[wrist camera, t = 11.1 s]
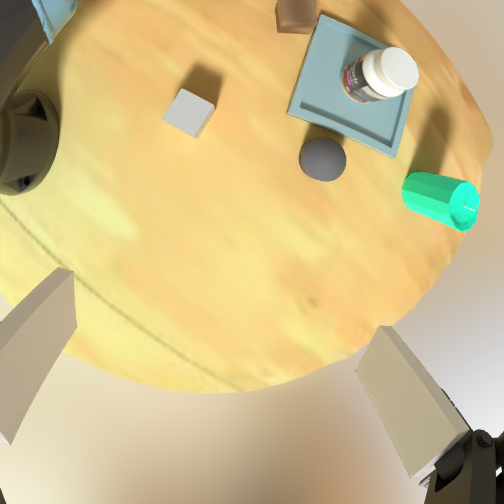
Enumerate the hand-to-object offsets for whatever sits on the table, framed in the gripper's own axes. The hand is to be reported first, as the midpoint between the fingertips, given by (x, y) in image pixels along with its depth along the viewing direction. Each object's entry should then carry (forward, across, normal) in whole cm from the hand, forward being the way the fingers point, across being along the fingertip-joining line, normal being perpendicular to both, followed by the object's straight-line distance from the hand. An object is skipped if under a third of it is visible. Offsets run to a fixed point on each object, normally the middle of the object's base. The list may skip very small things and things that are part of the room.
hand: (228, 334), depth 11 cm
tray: (+25, +12, +20) cm, 34 cm away
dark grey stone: (+25, +10, +8) cm, 28 cm away
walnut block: (+25, +2, +26) cm, 36 cm away
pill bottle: (+25, +12, +20) cm, 34 cm away
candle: (+25, +26, +9) cm, 37 cm away
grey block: (+25, -6, +10) cm, 28 cm away
